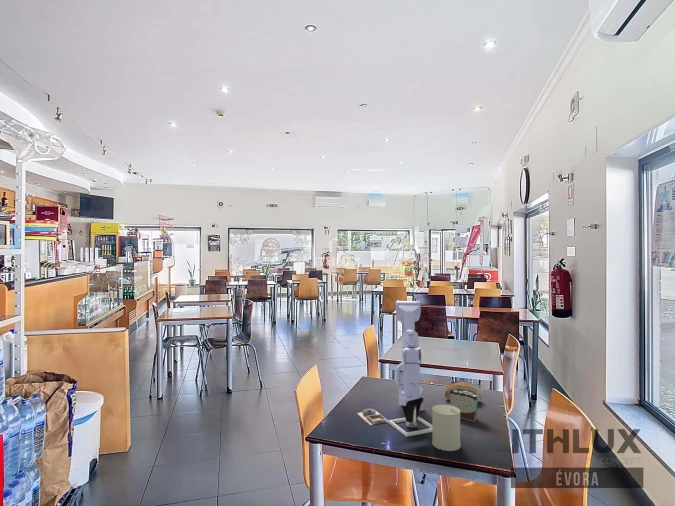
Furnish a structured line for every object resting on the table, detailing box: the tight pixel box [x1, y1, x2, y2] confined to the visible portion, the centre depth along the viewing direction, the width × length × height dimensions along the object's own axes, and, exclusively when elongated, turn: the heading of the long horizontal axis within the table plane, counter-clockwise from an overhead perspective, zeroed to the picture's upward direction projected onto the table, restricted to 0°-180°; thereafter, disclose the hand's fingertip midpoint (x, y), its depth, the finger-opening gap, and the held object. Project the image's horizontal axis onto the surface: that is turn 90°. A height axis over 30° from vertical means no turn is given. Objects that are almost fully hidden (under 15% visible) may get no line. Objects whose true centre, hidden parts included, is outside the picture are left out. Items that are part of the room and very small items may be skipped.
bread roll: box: [444, 380, 482, 401], centre depth 175 cm, size 10×15×8 cm, turn 81°
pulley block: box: [356, 408, 390, 426], centre depth 153 cm, size 8×12×3 cm, turn 21°
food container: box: [448, 388, 481, 423], centre depth 158 cm, size 12×6×10 cm, turn 47°
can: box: [431, 404, 462, 452], centre depth 134 cm, size 9×9×12 cm
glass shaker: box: [405, 407, 417, 429], centre depth 144 cm, size 4×4×7 cm
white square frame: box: [388, 415, 432, 437], centre depth 144 cm, size 12×12×2 cm
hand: (411, 420), depth 144 cm, fingers closed on glass shaker, 4 cm apart
